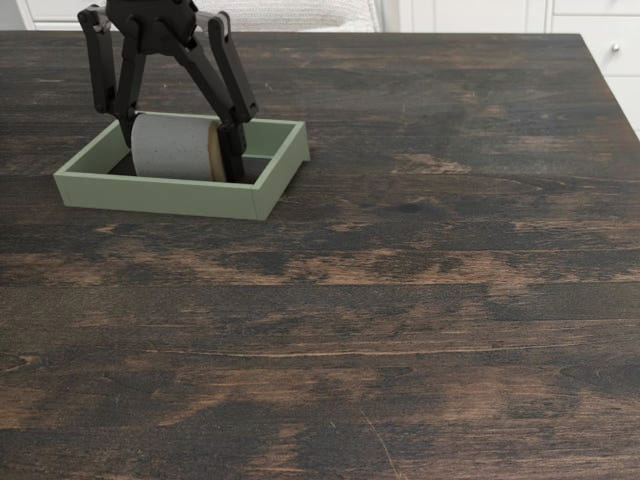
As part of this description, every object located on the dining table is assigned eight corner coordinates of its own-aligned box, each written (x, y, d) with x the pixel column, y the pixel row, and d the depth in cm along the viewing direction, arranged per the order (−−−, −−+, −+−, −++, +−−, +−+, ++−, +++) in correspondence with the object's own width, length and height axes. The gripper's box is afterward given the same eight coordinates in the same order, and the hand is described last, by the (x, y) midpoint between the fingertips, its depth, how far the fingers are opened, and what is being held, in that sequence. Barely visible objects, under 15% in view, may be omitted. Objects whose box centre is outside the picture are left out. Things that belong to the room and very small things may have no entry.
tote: (69, 217, 75) (52, 174, 72) (138, 150, 87) (126, 110, 84) (267, 232, 74) (258, 189, 71) (310, 161, 86) (305, 121, 82)
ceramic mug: (225, 202, 76) (209, 130, 72) (143, 204, 76) (121, 132, 71) (241, 157, 85) (228, 90, 80) (167, 159, 84) (149, 91, 79)
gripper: (268, -61, 67) (302, 169, 82) (41, -72, 68) (115, 156, 83) (239, -41, 61) (281, 203, 76) (-8, -53, 63) (81, 188, 78)
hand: (195, 178), depth 80 cm, fingers closed on ceramic mug, 9 cm apart
